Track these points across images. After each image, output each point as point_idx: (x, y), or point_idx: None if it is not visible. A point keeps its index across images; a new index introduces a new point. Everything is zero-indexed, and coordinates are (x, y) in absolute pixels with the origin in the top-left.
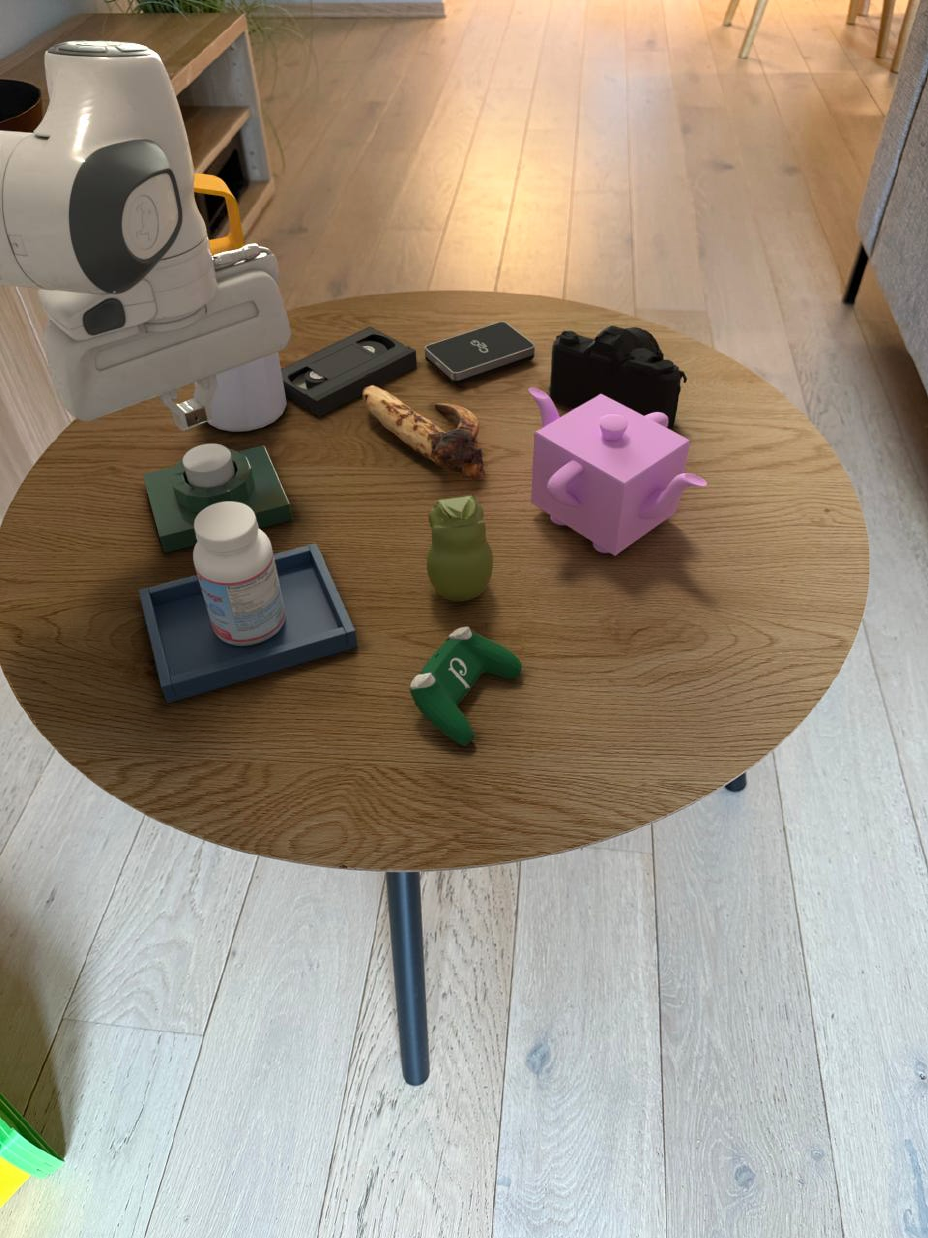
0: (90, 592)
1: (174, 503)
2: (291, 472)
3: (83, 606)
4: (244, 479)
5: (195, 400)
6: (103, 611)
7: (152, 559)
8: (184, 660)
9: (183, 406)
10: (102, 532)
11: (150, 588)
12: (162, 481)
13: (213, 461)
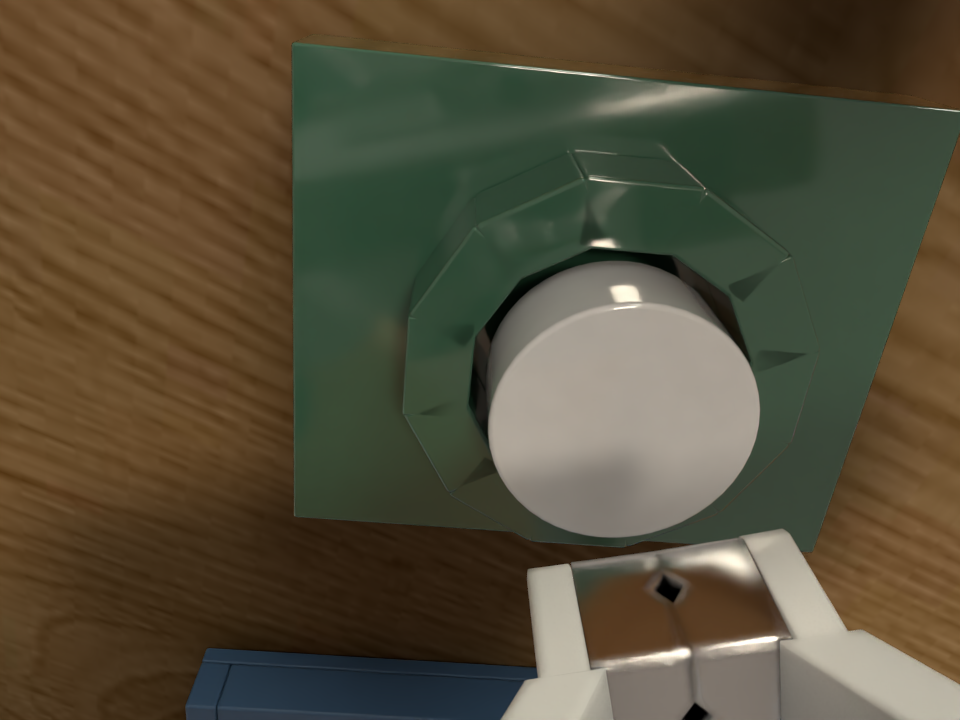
0: (37, 531)
1: (395, 359)
2: (950, 231)
3: (15, 576)
4: (723, 505)
5: (772, 679)
6: (80, 616)
7: (261, 474)
8: None
9: (643, 708)
10: (80, 245)
11: (223, 714)
12: (380, 166)
13: (641, 476)
